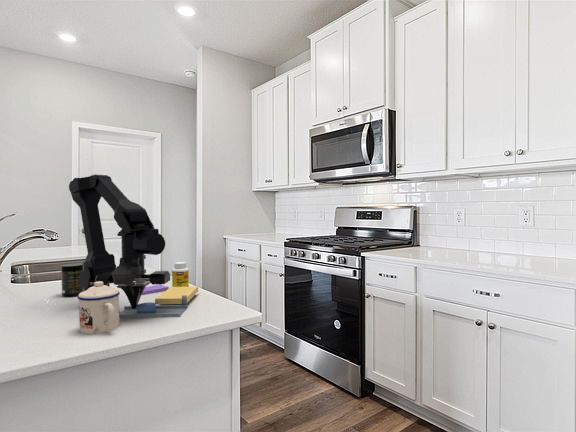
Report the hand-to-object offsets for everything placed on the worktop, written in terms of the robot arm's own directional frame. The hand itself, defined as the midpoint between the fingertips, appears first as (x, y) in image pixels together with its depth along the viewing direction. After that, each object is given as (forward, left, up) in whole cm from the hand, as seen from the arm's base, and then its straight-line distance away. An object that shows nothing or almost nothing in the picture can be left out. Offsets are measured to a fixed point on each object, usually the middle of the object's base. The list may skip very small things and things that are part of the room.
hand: (134, 308), depth 103 cm
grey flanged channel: (+5, 0, -2) cm, 5 cm away
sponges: (-6, +27, -2) cm, 28 cm away
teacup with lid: (-2, -13, -2) cm, 14 cm away
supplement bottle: (+6, +27, -2) cm, 27 cm away
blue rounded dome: (+3, 0, -1) cm, 3 cm away
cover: (+9, +12, 0) cm, 15 cm away
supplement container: (-30, +25, -2) cm, 39 cm away
